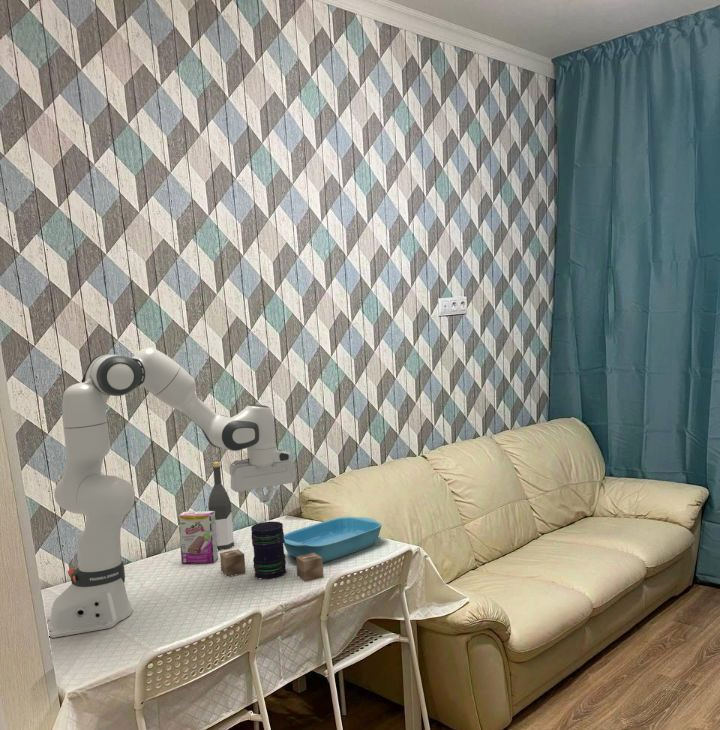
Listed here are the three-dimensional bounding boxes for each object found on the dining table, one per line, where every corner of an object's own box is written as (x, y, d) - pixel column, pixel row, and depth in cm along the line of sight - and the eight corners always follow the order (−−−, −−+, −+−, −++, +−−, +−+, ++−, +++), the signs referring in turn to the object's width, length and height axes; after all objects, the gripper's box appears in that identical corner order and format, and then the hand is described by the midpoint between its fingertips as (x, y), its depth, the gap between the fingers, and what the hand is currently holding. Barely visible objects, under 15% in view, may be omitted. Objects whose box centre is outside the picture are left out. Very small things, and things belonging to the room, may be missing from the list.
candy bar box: (181, 564, 230) (177, 515, 229) (186, 559, 235) (182, 511, 234) (214, 563, 229) (210, 514, 228) (218, 558, 234) (215, 510, 233)
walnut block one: (305, 581, 207) (303, 561, 207) (297, 576, 213) (295, 556, 212) (323, 577, 210) (322, 557, 210) (315, 571, 215) (313, 551, 215)
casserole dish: (349, 530, 257) (348, 511, 257) (394, 541, 241) (393, 520, 241) (269, 559, 231) (268, 537, 231) (314, 572, 215) (313, 549, 215)
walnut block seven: (226, 577, 216) (225, 557, 215) (221, 571, 221) (219, 552, 221) (245, 572, 219) (244, 553, 218) (239, 567, 224) (238, 548, 224)
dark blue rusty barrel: (251, 580, 211) (247, 531, 211) (257, 569, 221) (253, 522, 220) (284, 578, 211) (280, 529, 210) (288, 567, 221) (285, 520, 220)
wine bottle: (214, 543, 251) (207, 460, 250) (236, 542, 251) (230, 459, 249) (208, 550, 243) (201, 465, 241) (231, 549, 243) (225, 464, 241)
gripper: (232, 463, 207) (235, 509, 207) (296, 453, 216) (299, 497, 217) (225, 460, 212) (229, 505, 213) (288, 451, 222) (291, 494, 222)
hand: (265, 501), depth 215 cm, fingers closed
